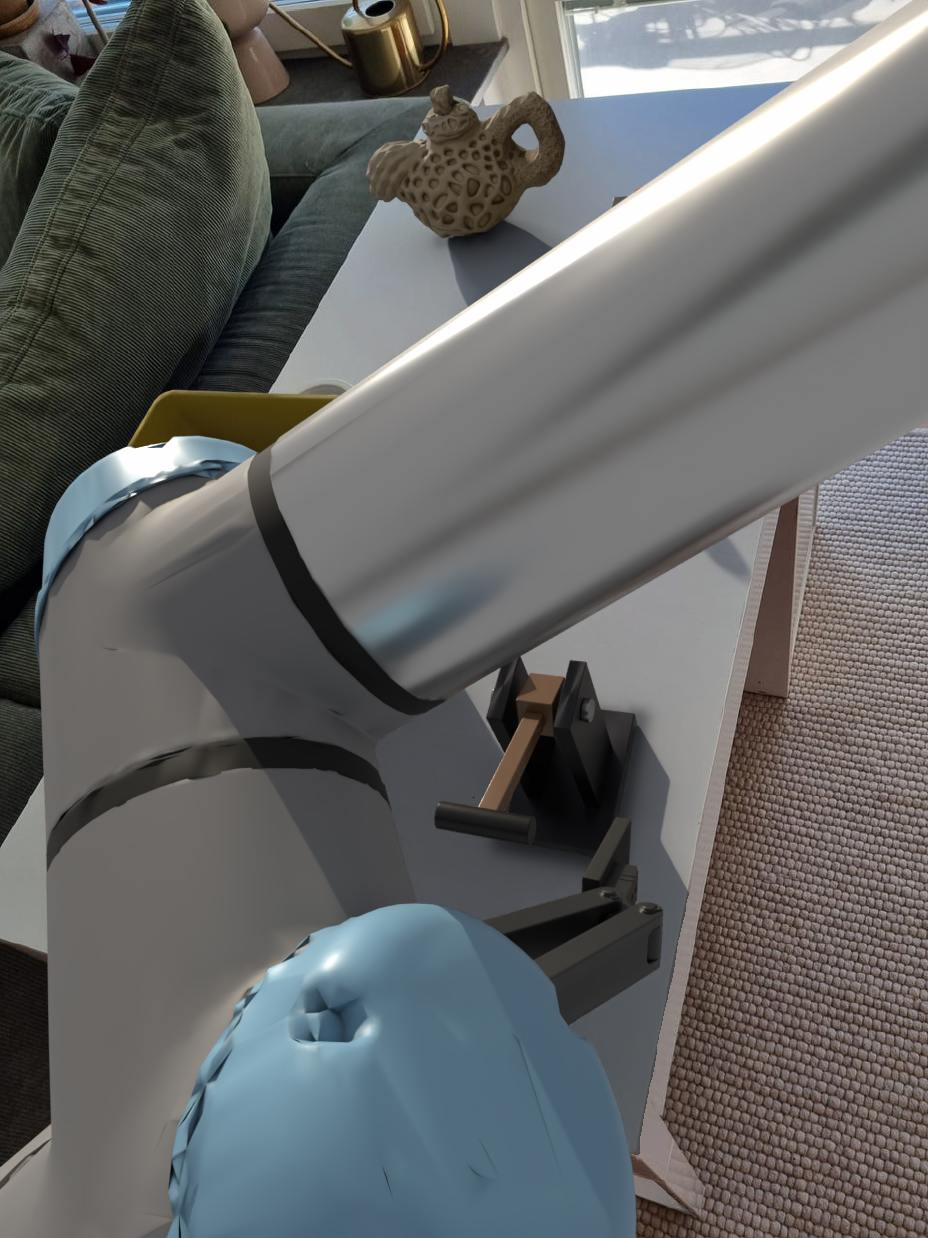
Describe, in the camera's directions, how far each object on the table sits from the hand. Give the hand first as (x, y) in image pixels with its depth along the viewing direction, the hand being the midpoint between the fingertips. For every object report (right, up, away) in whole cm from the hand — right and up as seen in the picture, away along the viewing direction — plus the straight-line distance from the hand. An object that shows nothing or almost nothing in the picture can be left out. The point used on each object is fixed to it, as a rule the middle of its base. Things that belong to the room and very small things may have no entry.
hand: (493, 820), depth 49 cm
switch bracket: (+6, -1, +15) cm, 16 cm away
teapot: (0, +53, +54) cm, 76 cm away
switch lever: (+2, +2, +3) cm, 4 cm away
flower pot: (-15, +10, +29) cm, 34 cm away
